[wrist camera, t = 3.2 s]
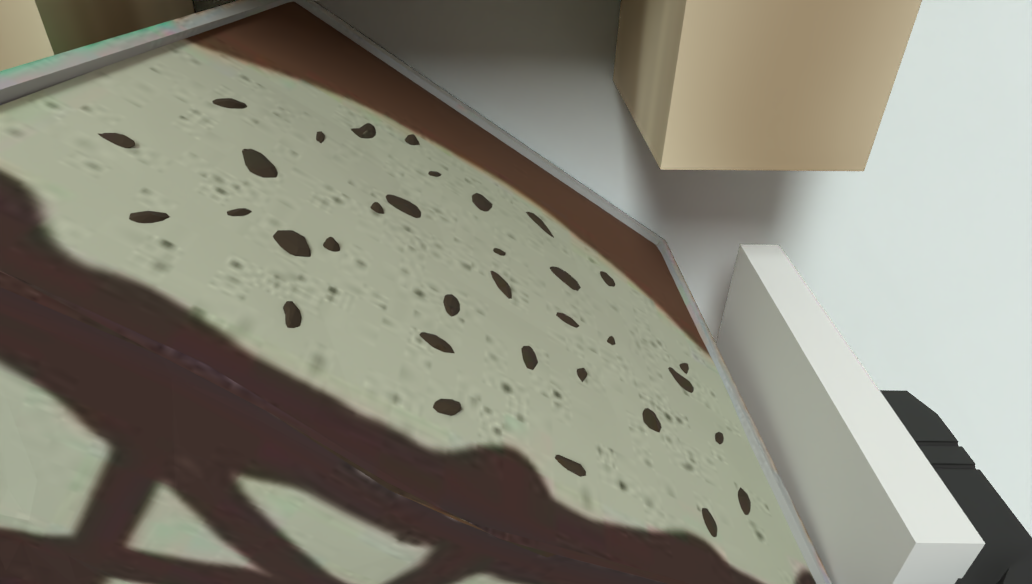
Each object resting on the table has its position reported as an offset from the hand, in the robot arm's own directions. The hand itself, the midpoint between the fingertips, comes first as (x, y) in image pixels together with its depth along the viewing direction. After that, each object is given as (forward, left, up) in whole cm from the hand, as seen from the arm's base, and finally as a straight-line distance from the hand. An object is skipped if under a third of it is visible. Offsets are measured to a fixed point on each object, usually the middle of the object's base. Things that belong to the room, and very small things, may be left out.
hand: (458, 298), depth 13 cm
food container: (-1, 0, -3) cm, 3 cm away
